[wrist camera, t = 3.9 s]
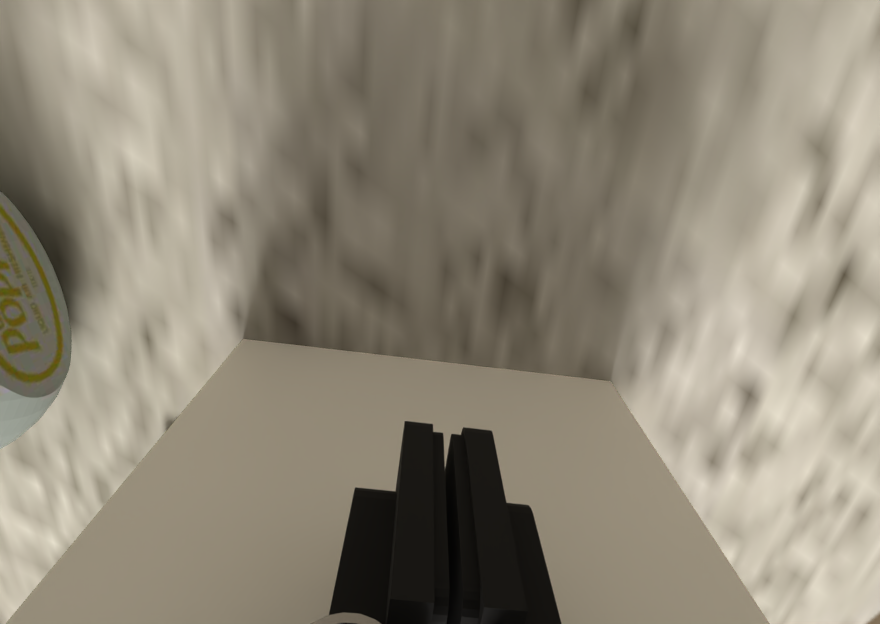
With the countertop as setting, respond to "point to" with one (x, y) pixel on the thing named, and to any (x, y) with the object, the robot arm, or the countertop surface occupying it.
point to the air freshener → (28, 327)
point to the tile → (376, 467)
